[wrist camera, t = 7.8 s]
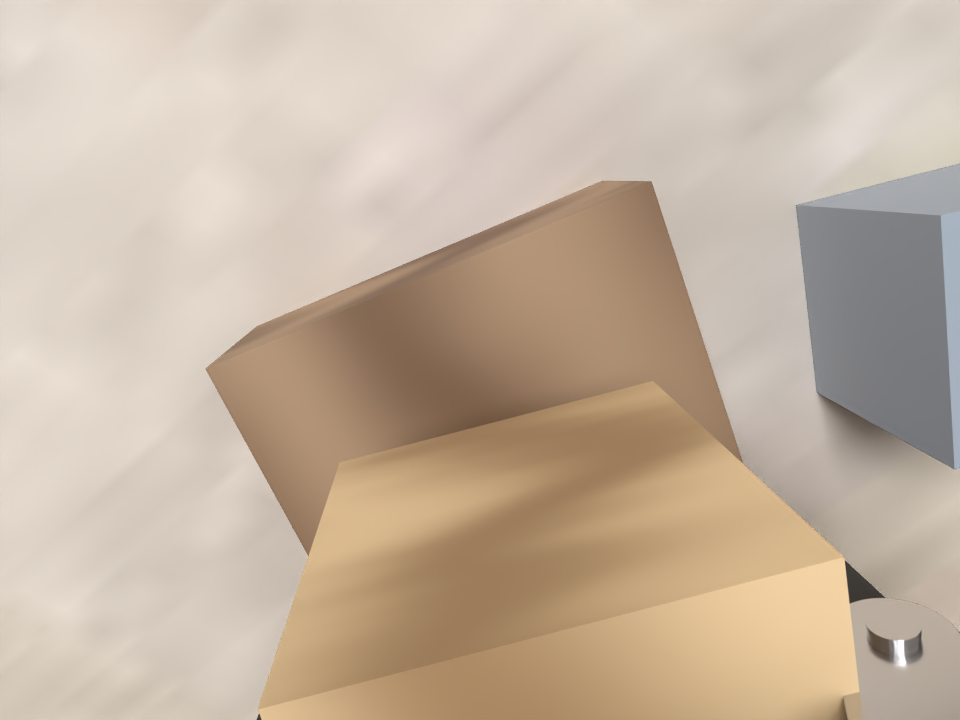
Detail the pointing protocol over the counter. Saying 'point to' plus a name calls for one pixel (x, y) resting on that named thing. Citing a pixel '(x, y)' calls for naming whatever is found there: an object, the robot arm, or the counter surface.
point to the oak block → (565, 581)
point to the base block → (472, 343)
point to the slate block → (889, 305)
